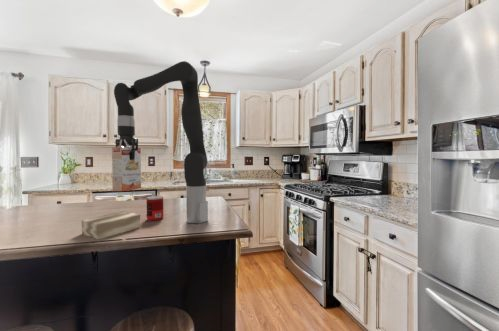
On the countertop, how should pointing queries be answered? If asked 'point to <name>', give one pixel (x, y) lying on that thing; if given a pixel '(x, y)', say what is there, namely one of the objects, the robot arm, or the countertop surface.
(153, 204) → the canned food
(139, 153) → the cracker box
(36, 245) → the countertop surface
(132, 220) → the folded beige towel
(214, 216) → the countertop surface
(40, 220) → the countertop surface
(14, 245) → the countertop surface
